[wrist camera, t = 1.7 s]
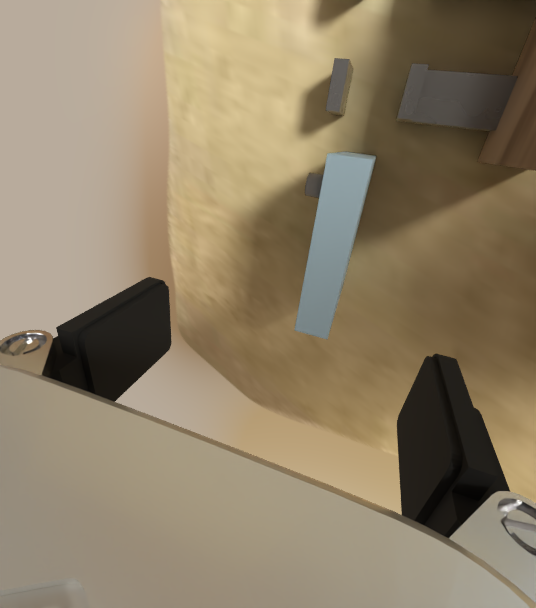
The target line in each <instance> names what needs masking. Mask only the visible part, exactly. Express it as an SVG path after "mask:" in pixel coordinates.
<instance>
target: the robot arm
mask: <svg viewBox="0 0 536 608" xmlns="http://www.w3.org/2000/svg"><path fill="white" fill-rule="evenodd" d="M56 329H57V332H58V336H57V337H55V338H54V339H53V336H52V335H51V334H50V333H48V332H46V331H42V330H28V331H22V332H19V333H15V334H12V335H10V336H7V337H5V338H3V339H2V340H0V608H536V503H534V502H533V501H531V500H529V499H527V498H525V497H523V496H521V495H519V494H516V493H513V492H510V490H509V487H508V485H507V482H506V479H505V477H504V474H503V471H502V469H501V466H500V463H499V461H498V458H497V455H496V453H495V450H494V447H493V445H492V442H491V439H490V437H489V434H488V431H487V429H486V426H485V423H484V421H483V418H482V415H481V413H480V412H479V410H477V409H476V408H474V407H473V404H472V401H471V399H470V396H469V393H468V390H467V387H466V385H465V382H464V379H463V376H462V373H461V371H460V368H459V365H458V362H457V360H456V359H454V358H451V357H447V356H443V355H439V354H434V355H433V357H429V356H427V357H426V358H425V360H424V362H423V364H422V366H421V368H420V371H419V373H418V375H417V377H416V379H415V381H414V384H413V386H412V388H411V390H410V392H409V394H408V396H407V399H406V401H405V403H404V405H403V407H402V409H401V412H400V414H399V416H398V420H397V436H398V454H399V472H400V489H401V507H402V515H400V514H398V513H396V512H393V511H391V510H389V509H386V508H384V507H381V506H379V505H377V504H374V503H372V502H369V501H367V500H364V499H362V498H360V497H357V496H355V495H352V494H350V493H347V492H345V491H343V490H340V489H337V488H335V487H333V486H330V485H328V484H325V483H323V482H320V481H318V480H315V479H313V478H310V477H307V476H305V475H302V474H300V473H297V472H294V471H292V470H290V469H287V468H284V467H282V466H279V465H277V464H274V463H272V462H269V461H267V460H264V459H262V458H259V457H257V456H254V455H251V454H249V453H246V452H244V451H241V450H239V449H236V448H234V447H231V446H228V445H226V444H223V443H220V442H218V441H215V440H213V439H210V438H208V437H205V436H202V435H200V434H197V433H195V432H192V431H190V430H187V429H184V428H182V427H179V426H177V425H174V424H171V423H169V422H166V421H163V420H161V419H158V418H156V417H153V416H150V415H148V414H145V413H142V412H140V411H137V410H135V409H132V408H129V407H127V406H124V405H121V404H118V403H116V402H115V401H116V400H117V399H118V398H119V397H120V396H121V395H122V394H123V393H124V392H125V391H126V390H127V389H128V388H129V387H130V386H132V385H133V384H134V383H135V382H136V381H137V380H138V379H139V378H140V377H141V376H142V375H143V374H144V373H145V372H146V371H147V370H148V369H149V368H151V367H152V365H154V364H155V363H156V362H157V361H158V360H159V359H160V358H161V357H162V356H163V355H164V354H165V353H166V352H167V351H168V350H169V349H170V346H171V327H170V305H169V289H168V286H166V284H165V282H164V281H163V280H159V279H155V278H151V277H148V278H146V279H144V280H142V281H140V282H138V283H136V284H135V285H133V286H131V287H129V288H127V289H126V290H124V291H122V292H120V293H118V294H117V295H115V296H113V297H111V298H109V299H107V300H106V301H104V302H102V303H100V304H98V305H96V306H95V307H93V308H91V309H89V310H88V311H85V312H84V313H82V314H80V315H78V316H77V317H75V318H73V319H71V320H69V321H67V322H65V323H64V324H62V325H60V326H58V327H57V328H56Z"/></svg>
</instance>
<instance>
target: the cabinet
mask: <svg viewBox="0 0 536 608" xmlns="http://www.w3.org/2000/svg"><path fill="white" fill-rule="evenodd" d="M512 76H518V78H517V81H516V83H515V85H514V88H513V90H512V93H511V95H510V97H509V100H508V102H507V105H506V107H505V109H504V112H503V114H502V117H501V119H500V121H499V124H498V126H497V129H496V131H489V133H488V136H487V138H486V141H485V143H484V146H483V148H482V151H481V153H480V156H479V158H478V160H477V162H482V163H488V164H495V165H502V166H509V167H515V168H522V169H529V170H536V18H535V20H534V23H533V25H532V28H531V30H530V33H529V35H528V38H527V40H526V43H525V45H524V47H523V50H522V52H521V55H520V57H519V60H518V62H517V65H516V67H515V70H514V72H513V74H512Z"/></svg>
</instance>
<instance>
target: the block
mask: <svg viewBox="0 0 536 608" xmlns="http://www.w3.org/2000/svg"><path fill="white" fill-rule="evenodd" d="M375 160H376V156H375V155H367V154H360V153H353V152H337V153H328V154H327V159H326V165H325V170H324V175H321V174H315V173H309V175H308V177H307V181H306V186H305V195H306V196H312V197H318V198H319V202H318V207H317V213H316V218H315V223H314V229H313V234H312V239H311V245H310V250H309V256H308V261H307V266H306V272H305V277H304V282H303V288H302V293H301V298H300V304H299V309H298V314H297V320H296V325H295V331H299V332H302V333H306V334H309V335H313V336H316V337H320V338H324V339H328V335H329V332H330V329H331V325H332V322H333V318H334V315H335V312H336V308H337V305H338V301H339V298H340V294H341V291H342V288H343V284H344V280H345V276H346V272H347V268H348V264H349V261H350V257H351V253H352V249H353V245H354V241H355V237H356V233H357V230H358V226H359V222H360V218H361V214H362V210H363V206H364V203H365V199H366V195H367V191H368V187H369V183H370V179H371V175H372V172H373V168H374V164H375Z"/></svg>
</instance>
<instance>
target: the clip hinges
mask: <svg viewBox="0 0 536 608" xmlns="http://www.w3.org/2000/svg"><path fill="white" fill-rule="evenodd" d="M428 66H429V65H428V64H413V63H412V66H411V69H410V71H409V75H408V78H407V82H406V86H405V89H404V93H403V97H402V100H401V104H400V108H399V111H398V115H397V119H396V121H398V122H407V123H416V124H425V125H434V126H444V127H453V128H462V129H471V130H480V131H496V129H497V126H498V124H499V121H500V119H501V117H502V114H503V112H504V109H505V107H506V105H507V102H508V100H509V97H510V95H511V93H512V90H513V88H514V85H515V83H516V81H517V78H518V76H509V75H494V74H480V73H466V72H452V71H438V70H427V69H428ZM352 73H353V67H352V65H351V62H350V59H338V58H335V59H334V65H333V71H332V76H331V82H330V88H329V94H328V100H327V105H326V111H327V112H329V113H330V114H334V115H343V116H344V113H345V108H346V103H347V98H348V93H349V88H350V83H351V78H352Z"/></svg>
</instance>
